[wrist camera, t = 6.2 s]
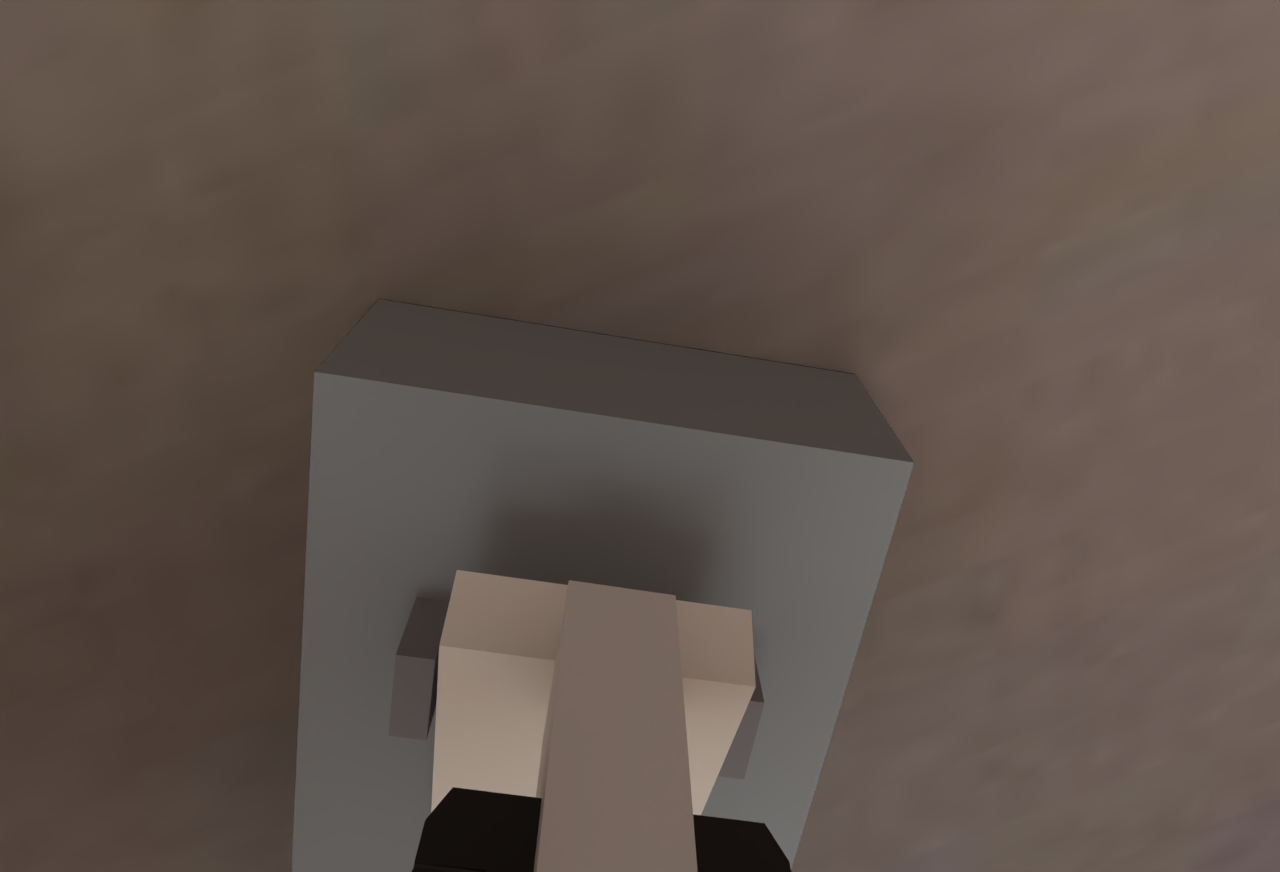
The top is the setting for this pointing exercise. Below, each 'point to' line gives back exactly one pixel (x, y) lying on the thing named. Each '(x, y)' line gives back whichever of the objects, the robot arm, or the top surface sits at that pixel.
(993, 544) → the top surface
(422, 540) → the switch unit
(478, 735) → the rocker
